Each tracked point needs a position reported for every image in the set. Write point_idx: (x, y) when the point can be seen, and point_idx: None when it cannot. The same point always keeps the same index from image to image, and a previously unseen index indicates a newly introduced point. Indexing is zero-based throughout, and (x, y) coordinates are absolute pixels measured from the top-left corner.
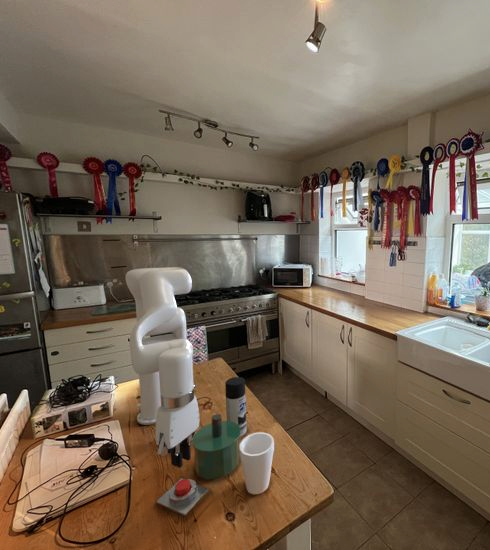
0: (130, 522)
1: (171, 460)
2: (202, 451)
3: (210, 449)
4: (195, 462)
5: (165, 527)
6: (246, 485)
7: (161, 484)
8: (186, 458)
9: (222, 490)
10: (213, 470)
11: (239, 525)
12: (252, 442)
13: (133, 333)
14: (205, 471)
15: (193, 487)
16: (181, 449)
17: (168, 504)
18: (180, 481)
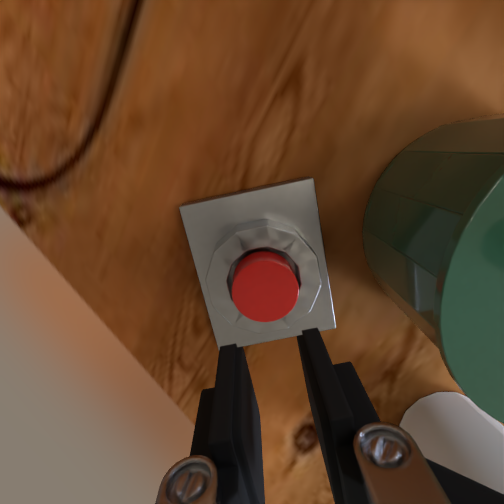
0: (86, 193)
1: (199, 412)
2: (438, 343)
3: (474, 379)
4: (397, 201)
5: (163, 316)
6: (412, 434)
7: (250, 105)
8: (309, 400)
9: (364, 348)
10: (403, 310)
11: (300, 474)
12: None
13: None
14: (383, 279)
15: (294, 312)
16: (315, 408)
17: (203, 264)
18: (270, 268)
